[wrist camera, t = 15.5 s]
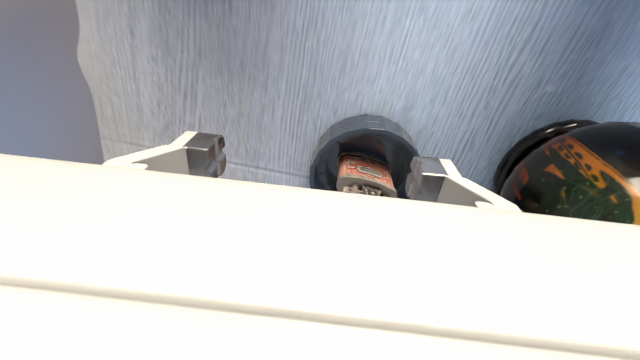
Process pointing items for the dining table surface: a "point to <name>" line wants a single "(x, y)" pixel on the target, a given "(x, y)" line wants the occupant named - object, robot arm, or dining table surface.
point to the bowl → (363, 150)
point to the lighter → (364, 175)
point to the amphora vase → (575, 171)
